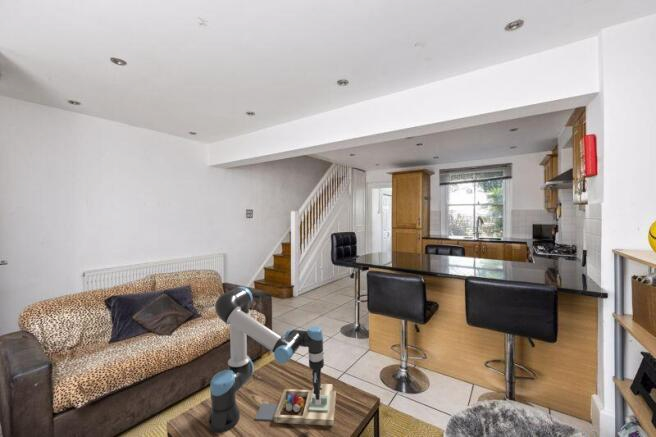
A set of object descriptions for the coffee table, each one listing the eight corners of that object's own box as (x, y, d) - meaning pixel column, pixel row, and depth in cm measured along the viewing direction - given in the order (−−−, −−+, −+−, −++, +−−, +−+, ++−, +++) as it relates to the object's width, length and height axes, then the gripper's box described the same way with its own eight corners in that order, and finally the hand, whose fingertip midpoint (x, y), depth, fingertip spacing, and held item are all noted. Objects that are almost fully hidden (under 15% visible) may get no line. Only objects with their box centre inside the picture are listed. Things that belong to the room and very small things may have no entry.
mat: (254, 419, 141) (254, 418, 141) (261, 404, 152) (261, 403, 152) (275, 420, 140) (275, 419, 140) (281, 405, 151) (281, 404, 151)
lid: (308, 410, 142) (308, 403, 142) (312, 395, 153) (311, 389, 153) (327, 411, 141) (327, 404, 141) (329, 396, 152) (329, 390, 152)
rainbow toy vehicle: (300, 414, 144) (300, 401, 144) (283, 412, 146) (282, 398, 146) (305, 403, 152) (305, 390, 152) (288, 400, 154) (288, 388, 154)
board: (274, 422, 139) (273, 416, 139) (287, 387, 166) (287, 382, 166) (333, 425, 136) (332, 419, 136) (336, 389, 163) (336, 384, 162)
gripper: (321, 366, 132) (324, 413, 133) (325, 351, 145) (326, 395, 146) (306, 365, 133) (308, 413, 134) (310, 351, 145) (312, 394, 146)
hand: (318, 403), depth 140 cm, fingers closed
